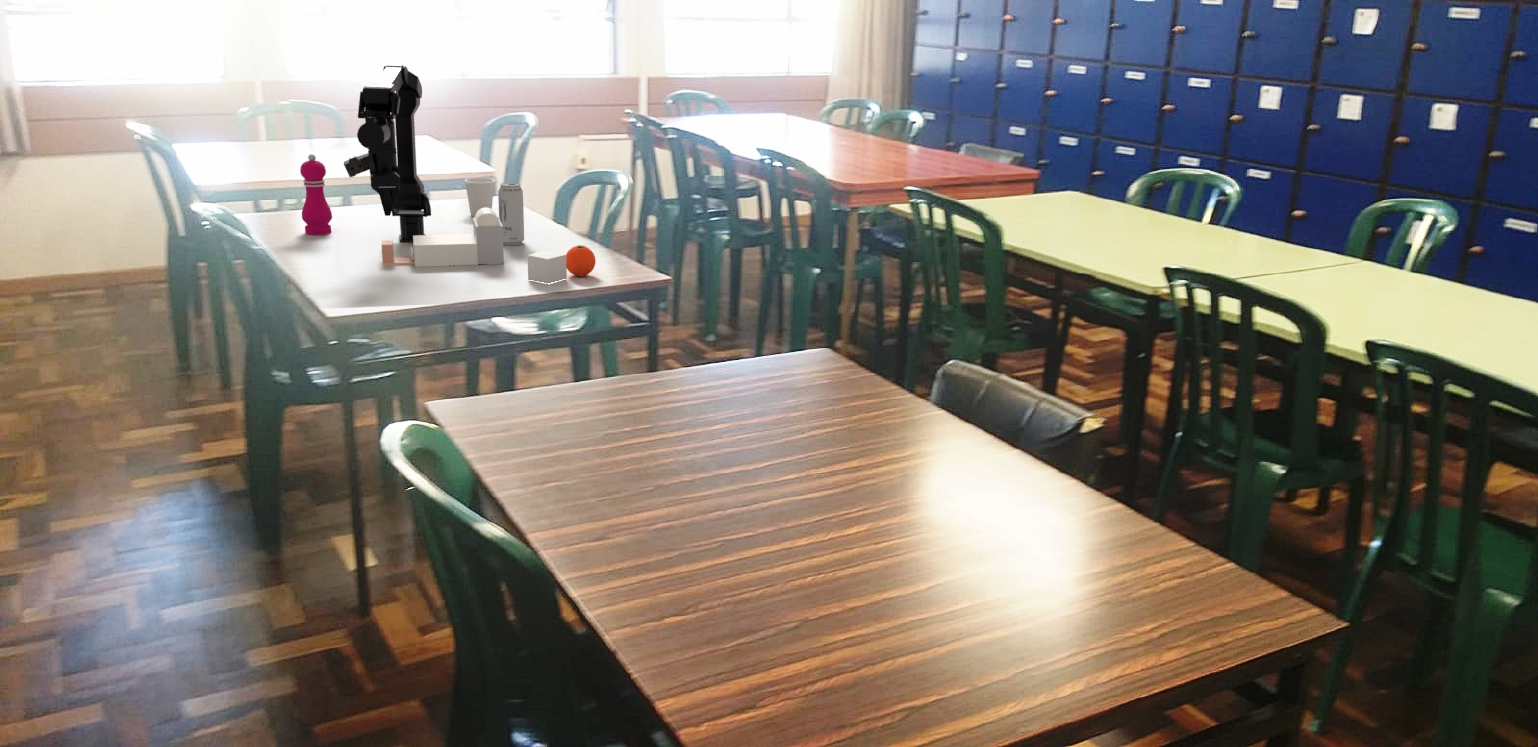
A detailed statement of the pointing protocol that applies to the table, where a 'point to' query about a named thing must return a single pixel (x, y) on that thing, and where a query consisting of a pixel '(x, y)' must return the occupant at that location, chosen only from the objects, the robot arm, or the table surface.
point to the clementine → (580, 260)
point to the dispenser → (463, 244)
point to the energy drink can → (511, 213)
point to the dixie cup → (479, 193)
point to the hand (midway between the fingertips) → (387, 211)
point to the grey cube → (547, 267)
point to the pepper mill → (315, 198)
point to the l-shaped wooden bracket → (389, 256)
